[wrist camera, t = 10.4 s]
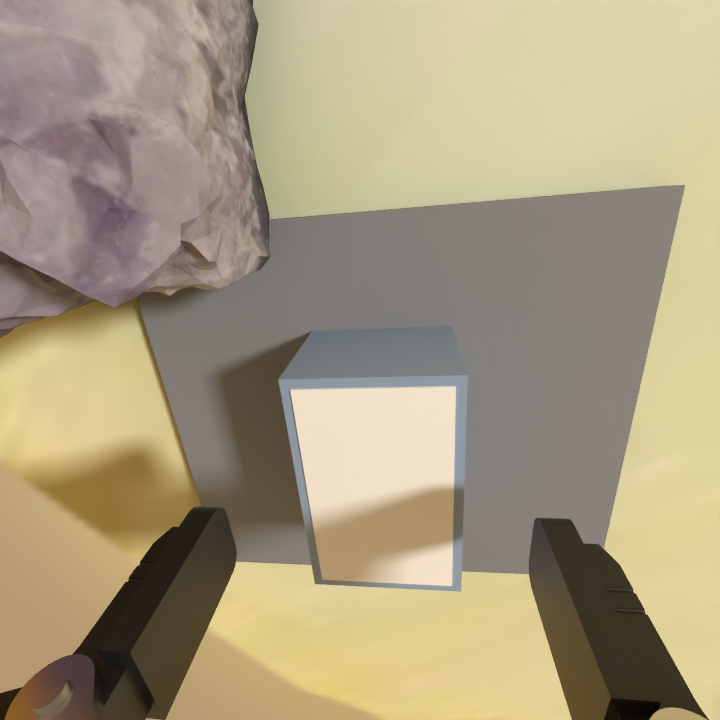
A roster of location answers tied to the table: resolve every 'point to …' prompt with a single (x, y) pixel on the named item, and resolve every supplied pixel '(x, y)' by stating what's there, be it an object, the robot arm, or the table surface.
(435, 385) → the card box
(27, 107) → the geode
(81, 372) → the table surface
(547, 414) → the rubber mat
